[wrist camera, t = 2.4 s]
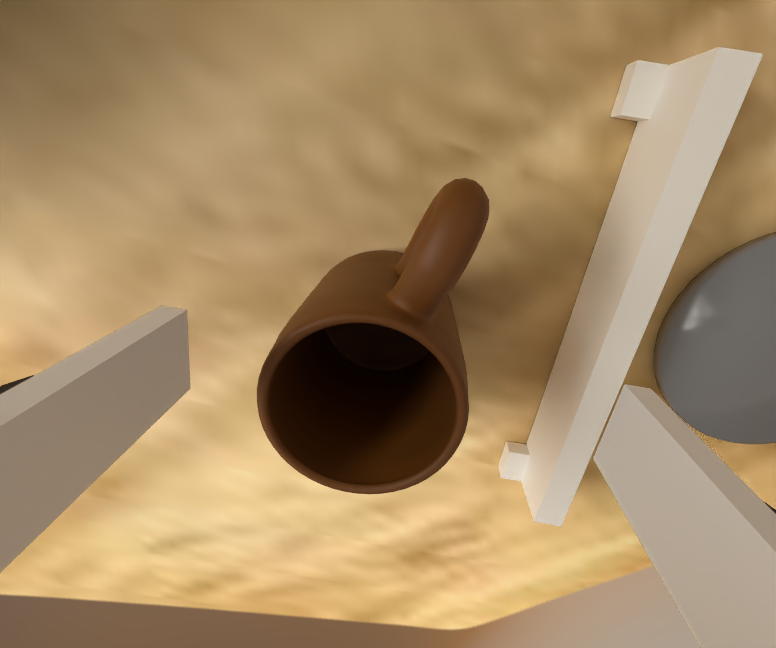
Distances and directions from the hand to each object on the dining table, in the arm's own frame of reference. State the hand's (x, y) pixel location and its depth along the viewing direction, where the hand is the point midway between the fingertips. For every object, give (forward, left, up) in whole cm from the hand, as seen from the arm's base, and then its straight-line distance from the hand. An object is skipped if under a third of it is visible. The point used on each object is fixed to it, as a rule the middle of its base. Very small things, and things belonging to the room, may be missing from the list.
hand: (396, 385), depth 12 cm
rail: (+10, 0, -10) cm, 14 cm away
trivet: (+20, 0, -10) cm, 22 cm away
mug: (0, 0, -11) cm, 11 cm away
